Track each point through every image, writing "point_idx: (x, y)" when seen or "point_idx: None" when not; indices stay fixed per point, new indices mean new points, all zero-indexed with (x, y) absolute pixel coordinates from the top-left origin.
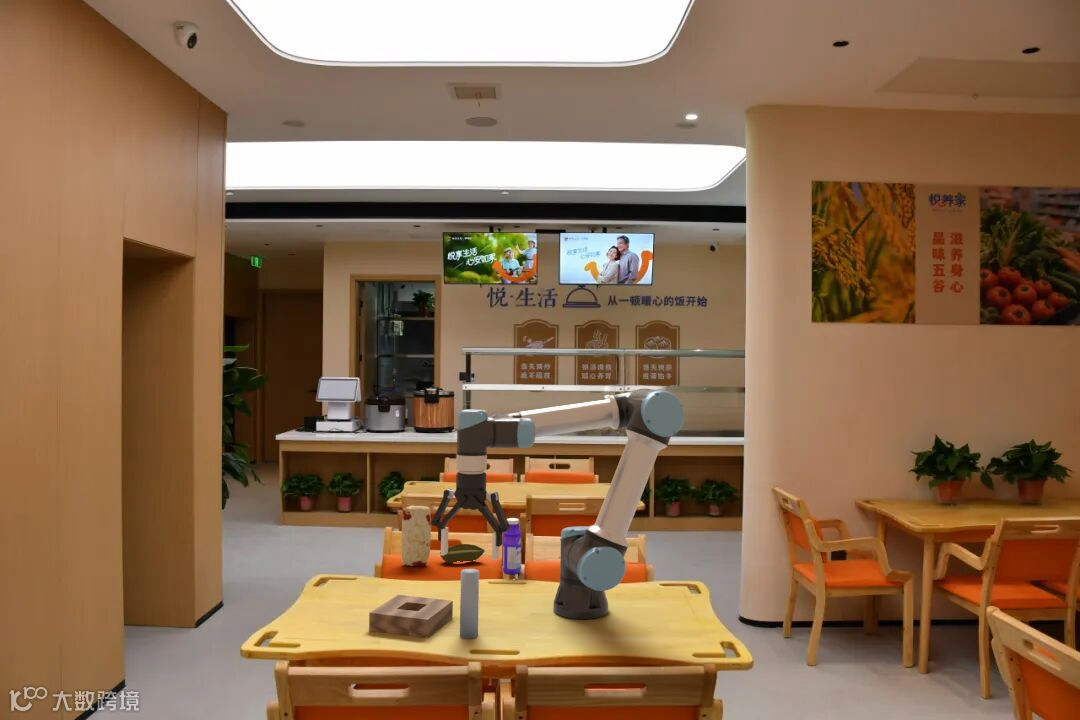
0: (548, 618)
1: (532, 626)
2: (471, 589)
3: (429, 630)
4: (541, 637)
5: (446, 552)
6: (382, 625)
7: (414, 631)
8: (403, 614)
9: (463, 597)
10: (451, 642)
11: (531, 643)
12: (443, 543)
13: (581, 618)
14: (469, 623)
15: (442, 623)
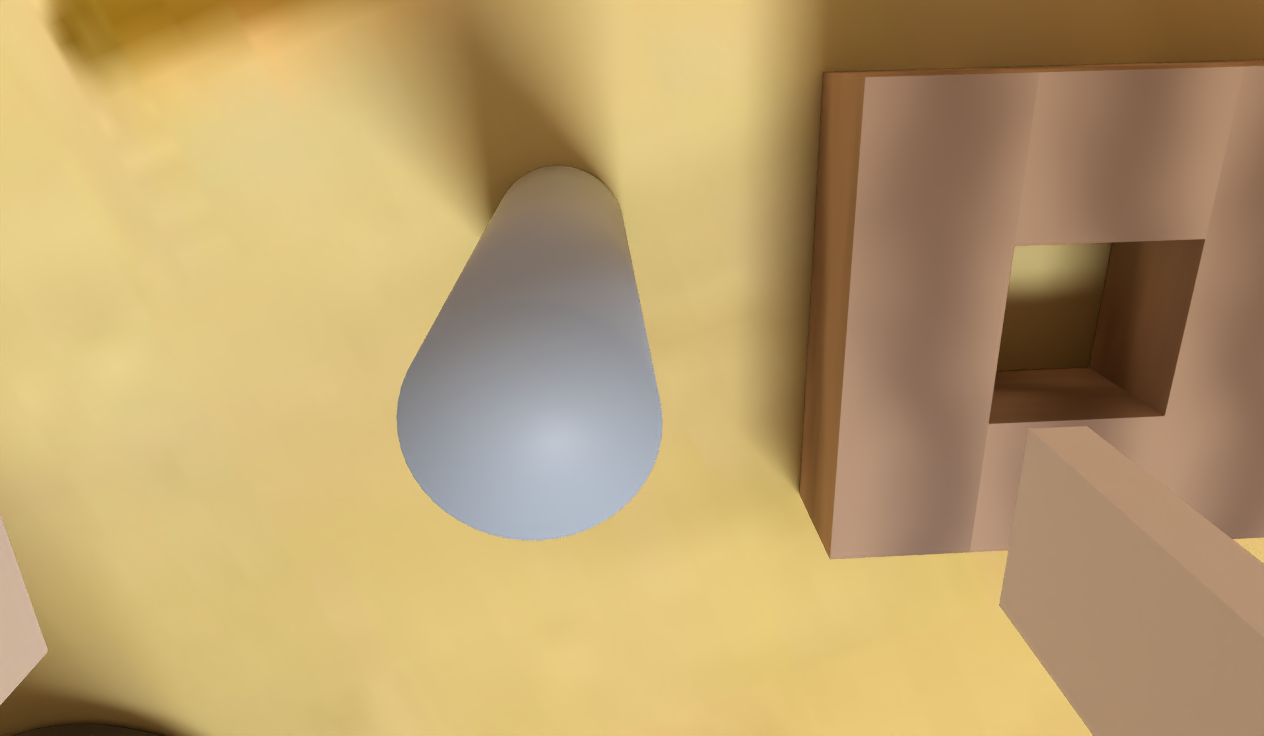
0: (225, 684)
1: (244, 532)
2: (476, 263)
3: (832, 113)
4: (82, 373)
5: (1020, 568)
6: (1218, 63)
7: (940, 70)
8: (1109, 127)
9: (575, 229)
10: (617, 49)
11: (79, 242)
12: (1197, 572)
13: (23, 734)
14: (522, 190)
15: (812, 341)
